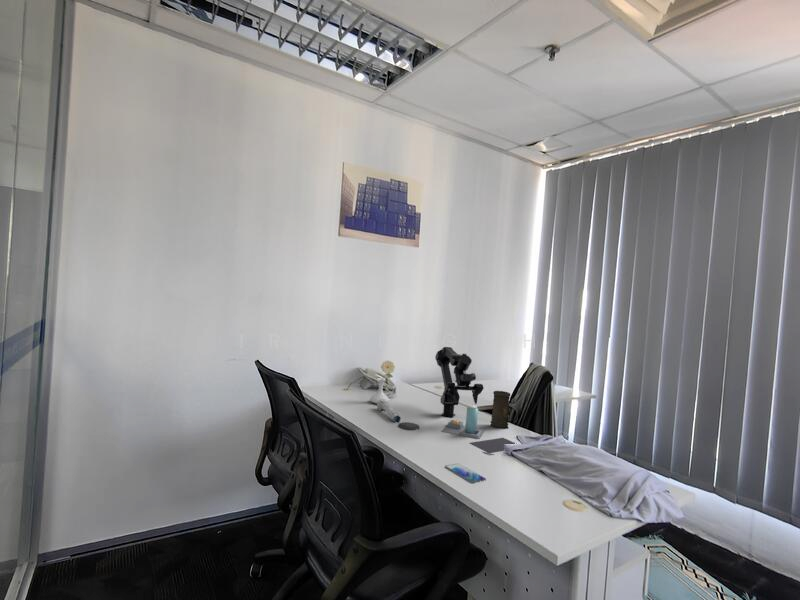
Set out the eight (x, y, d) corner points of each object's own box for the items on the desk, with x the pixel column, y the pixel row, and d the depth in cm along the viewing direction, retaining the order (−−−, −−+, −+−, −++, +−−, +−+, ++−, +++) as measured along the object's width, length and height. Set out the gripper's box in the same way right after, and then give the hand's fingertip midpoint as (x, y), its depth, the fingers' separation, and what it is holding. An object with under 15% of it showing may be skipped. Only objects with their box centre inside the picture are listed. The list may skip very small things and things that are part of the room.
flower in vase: (367, 404, 236) (371, 360, 236) (372, 399, 248) (375, 357, 247) (390, 406, 234) (393, 362, 234) (393, 402, 245) (397, 359, 245)
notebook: (502, 440, 193) (467, 446, 181) (503, 437, 193) (468, 442, 181) (524, 450, 182) (488, 457, 170) (524, 446, 182) (488, 453, 170)
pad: (402, 422, 207) (402, 421, 207) (422, 426, 203) (422, 424, 203) (395, 427, 198) (395, 426, 198) (415, 431, 194) (415, 430, 194)
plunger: (453, 424, 206) (453, 419, 206) (459, 425, 205) (459, 420, 205) (451, 426, 203) (451, 421, 203) (457, 427, 202) (458, 422, 202)
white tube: (392, 415, 204) (376, 396, 227) (390, 428, 205) (375, 407, 228) (402, 415, 206) (385, 395, 229) (400, 427, 207) (384, 407, 230)
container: (488, 428, 208) (491, 392, 208) (491, 424, 216) (494, 389, 216) (506, 432, 205) (510, 395, 205) (509, 427, 213) (512, 392, 213)
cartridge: (466, 431, 197) (468, 404, 197) (477, 433, 195) (479, 405, 195) (463, 434, 192) (466, 406, 192) (475, 436, 190) (477, 408, 190)
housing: (449, 425, 209) (449, 419, 209) (485, 432, 202) (485, 425, 202) (440, 433, 194) (440, 427, 194) (479, 441, 187) (479, 434, 187)
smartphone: (458, 463, 159) (487, 479, 147) (458, 465, 159) (486, 481, 147) (444, 465, 155) (472, 482, 143) (443, 467, 155) (471, 484, 143)
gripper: (448, 366, 204) (453, 393, 193) (483, 367, 208) (491, 395, 197) (441, 378, 212) (446, 406, 201) (476, 380, 216) (483, 407, 205)
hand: (467, 403), depth 201 cm, fingers open, 9 cm apart
